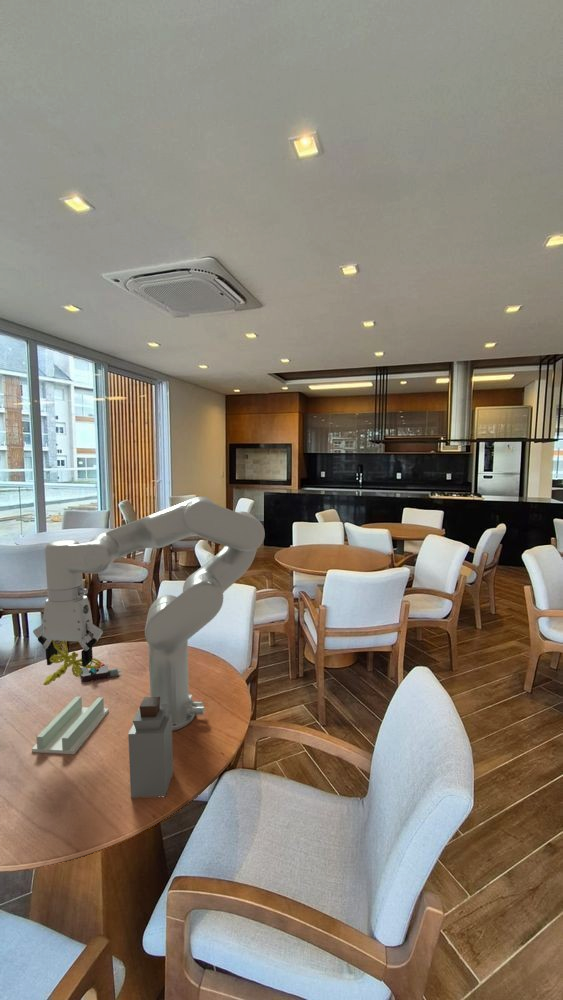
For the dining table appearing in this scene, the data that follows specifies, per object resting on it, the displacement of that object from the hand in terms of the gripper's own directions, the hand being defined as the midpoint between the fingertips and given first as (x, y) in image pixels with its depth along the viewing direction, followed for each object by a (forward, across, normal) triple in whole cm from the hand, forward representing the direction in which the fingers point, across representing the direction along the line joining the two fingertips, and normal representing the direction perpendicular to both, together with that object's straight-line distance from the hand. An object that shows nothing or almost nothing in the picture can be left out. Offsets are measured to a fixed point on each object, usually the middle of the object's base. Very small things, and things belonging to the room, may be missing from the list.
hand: (69, 662), depth 100 cm
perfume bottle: (+18, -26, +15) cm, 35 cm away
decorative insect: (+4, -1, 0) cm, 4 cm away
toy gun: (+18, +7, -27) cm, 33 cm away
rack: (+17, 0, 0) cm, 17 cm away
